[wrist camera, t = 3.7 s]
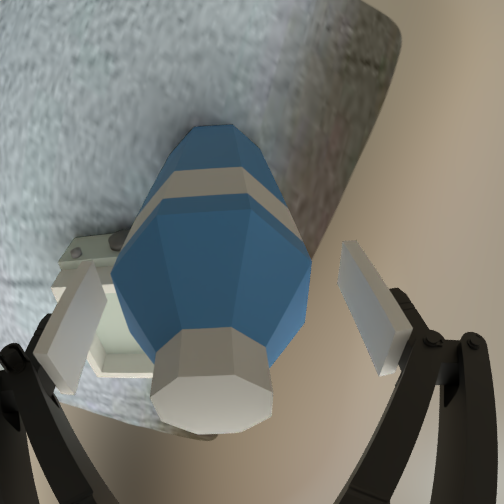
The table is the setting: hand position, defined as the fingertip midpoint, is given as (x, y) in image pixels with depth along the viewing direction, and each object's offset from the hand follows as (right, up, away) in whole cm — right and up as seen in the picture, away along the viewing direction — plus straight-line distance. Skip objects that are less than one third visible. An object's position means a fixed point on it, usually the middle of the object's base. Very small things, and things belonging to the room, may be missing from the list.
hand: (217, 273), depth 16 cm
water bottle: (-2, +9, +14) cm, 17 cm away
